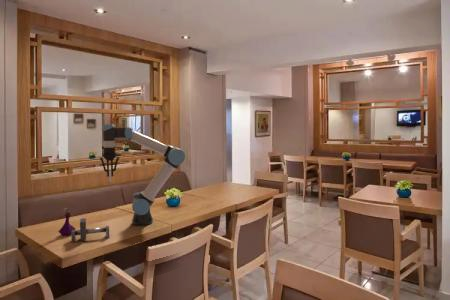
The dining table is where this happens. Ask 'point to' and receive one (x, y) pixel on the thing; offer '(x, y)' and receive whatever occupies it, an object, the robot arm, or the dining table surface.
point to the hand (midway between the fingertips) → (110, 181)
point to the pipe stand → (90, 232)
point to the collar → (83, 229)
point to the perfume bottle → (66, 225)
